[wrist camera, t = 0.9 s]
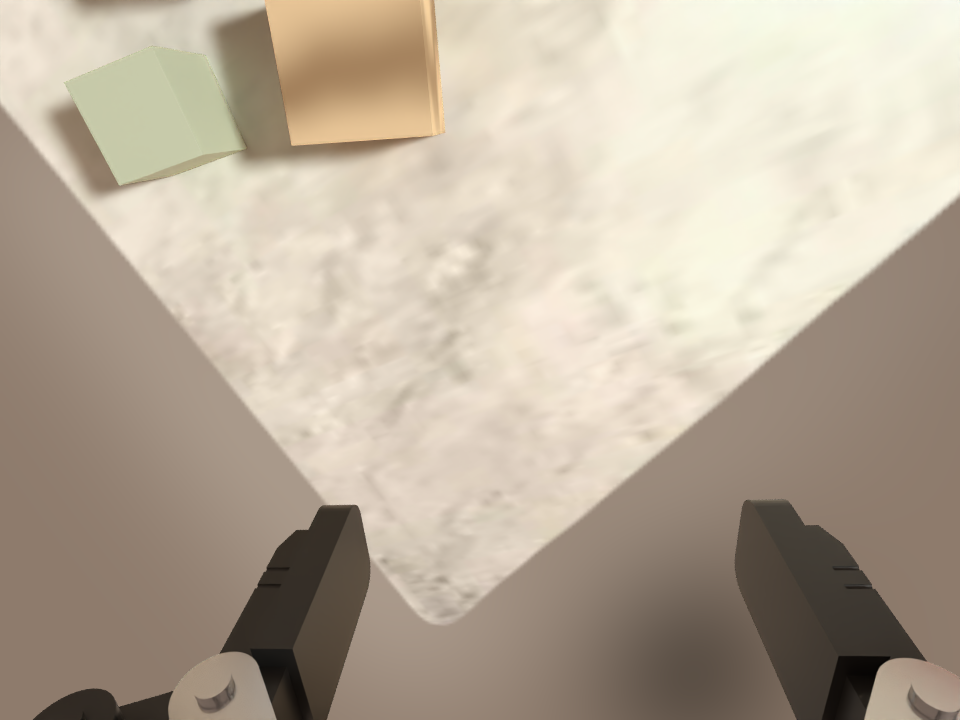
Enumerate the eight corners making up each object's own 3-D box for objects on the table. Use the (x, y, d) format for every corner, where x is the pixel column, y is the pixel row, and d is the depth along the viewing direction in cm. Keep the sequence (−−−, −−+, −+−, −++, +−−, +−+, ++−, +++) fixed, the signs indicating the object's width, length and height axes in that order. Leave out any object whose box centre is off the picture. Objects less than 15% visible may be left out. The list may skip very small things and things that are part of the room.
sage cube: (129, 86, 32) (63, 82, 27) (206, 55, 31) (152, 45, 27) (173, 175, 34) (119, 185, 29) (247, 148, 33) (203, 154, 28)
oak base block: (300, -3, 30) (260, -23, 25) (433, -15, 29) (416, -39, 25) (324, 140, 33) (291, 145, 28) (445, 132, 32) (432, 135, 27)
